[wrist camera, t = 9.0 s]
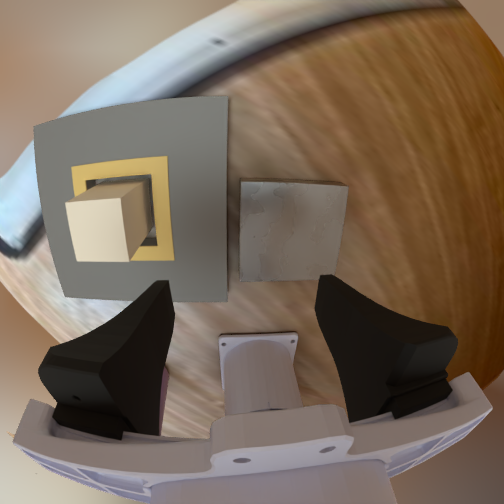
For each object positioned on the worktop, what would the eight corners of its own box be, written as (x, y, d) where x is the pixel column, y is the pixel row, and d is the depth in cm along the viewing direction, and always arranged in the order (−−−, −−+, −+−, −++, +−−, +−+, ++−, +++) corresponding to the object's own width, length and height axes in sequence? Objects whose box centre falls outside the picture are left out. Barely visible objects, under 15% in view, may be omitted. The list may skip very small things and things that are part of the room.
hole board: (227, 292, 24) (227, 303, 22) (71, 288, 22) (64, 297, 21) (228, 98, 17) (227, 95, 15) (43, 125, 16) (32, 126, 14)
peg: (152, 227, 21) (129, 261, 15) (109, 228, 20) (76, 261, 15) (148, 177, 19) (120, 198, 14) (103, 181, 19) (65, 202, 13)
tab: (328, 270, 24) (333, 279, 22) (238, 272, 23) (239, 281, 22) (341, 182, 20) (348, 186, 19) (240, 178, 20) (241, 181, 18)
